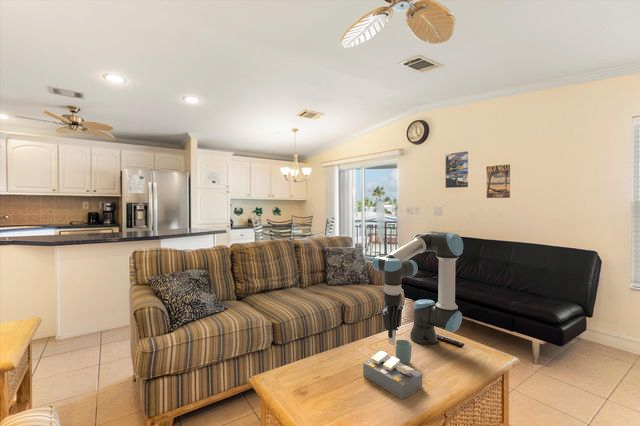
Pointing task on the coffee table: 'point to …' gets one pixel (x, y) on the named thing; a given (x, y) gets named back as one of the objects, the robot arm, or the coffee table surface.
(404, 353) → the cup
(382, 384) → the console
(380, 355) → the rocker
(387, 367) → the rocker
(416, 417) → the coffee table surface
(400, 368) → the block
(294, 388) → the coffee table surface
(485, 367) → the coffee table surface
